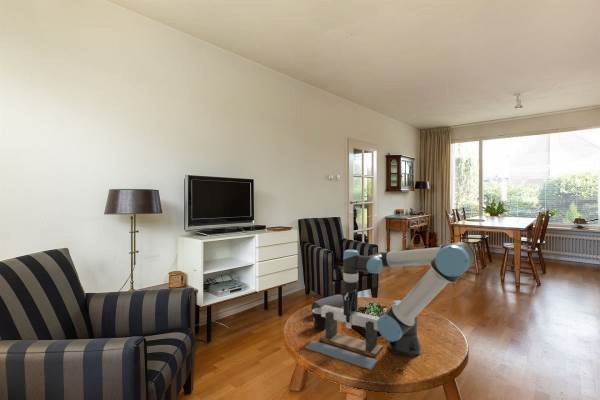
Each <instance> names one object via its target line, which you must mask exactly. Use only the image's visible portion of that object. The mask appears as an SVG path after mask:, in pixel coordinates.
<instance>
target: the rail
mask: <svg viewBox="0 0 600 400" xmlns="http://www.w3.org/2000/svg"><path fill="white" fill-rule="evenodd" d="M326 313H330V314H332V319H334V320H337V322H342V323H345V324H346V315H344V308H337V307H332V306H328V305H324V306H322V307H321V316H322V317H326ZM380 317H381V316H377V315H376V316H375V315H373V314H372V315H371V314H367V313H362V312H358V311H357V312H354V311H351V324H353V325H352V326H354V325H355V326H357V327H362V328H365V329H366V322H367V323H371V324H372V329H373V330H377V332H379V330H378V326H377V322H378V319H379V318H380Z"/></svg>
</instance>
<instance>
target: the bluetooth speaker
mask: <svg viewBox="0 0 600 400" xmlns="http://www.w3.org/2000/svg"><path fill="white" fill-rule="evenodd" d="M343 296H344V295H342V294H334V295H330V296H327V297H324V298H320V299H318V300H315V301H313V302H312V303H311V309H310V310H311V311H312V310H313V309H316V308H321V307H322V306H324V305H328V306H332V307H337V308H341V309H343V308H344V303H343Z"/></svg>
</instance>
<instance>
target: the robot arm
mask: <svg viewBox="0 0 600 400" xmlns="http://www.w3.org/2000/svg"><path fill="white" fill-rule="evenodd" d="M342 258H343V259H342V261H343V272H342V275H343V276H342V277H343V278H342V279H343V283H342V284H343V289H344V290H345V295H342V296H343V303H344V306H343V309H344V315H346V323H345V328H346V329H350V330H351V329H352V326H356V325H353V324H351V311H354V312H358V300H359V299H358V295H359V271H360V272H363V273H369V274H380V273H381V272H382V269H383V268H392V267H395V268H396V267H397V268H398V267H412V266H413V267H414V266H428V265H429V266H430V268H429V270H428V271H426V273H425V274H424V275H423V276H422V277H421V279H419V280H418V281H417V283H416V284H414V286H413V287H412V289H410V291H409V292H408V293H406V295H405V297H404V298H402V299H401V300H400V299H398V300H397V299H396V300H393V301H392V304H391V306H390V307H389V308H388V309H387V311H386V312H385V313H384V314H383V315H380V316H379V317H380V318H379V319H378V322H377V326H378V330H379V331H378V333H379V334H380V336H382V338H383V339H385V340H386V341H388V349H389V350H390V351H391V352H392V353H395V354H397V355H399V356H405V357H416V356H418V355H420V354H421V353H422V347H421V342H420V339H419V337H418V336H419V335H418V315H419V314H420V313H421V312H422V311H423V310H424V309H425V308H426V306H428V305H429V303H431V301H433V299H434V298H435V297H436V296H438V294H439V293H440V292H441V291H442V290H443V289H444V288H445V287H446V286H447V285H448V284H449V283H450V284H451V283H453V284H454V283H456V282H457V280H459V278H460V277H461V276H463V275H464V273H466V272H467V270H468V269H470V267H472V266H473V264H475V261H476V252H475V249H473V247H472V246H471V245H469V243H466V242H463V241H455V242H452V243H445V244H440V246H439V247H438V246H437V247H428V248H427V247H426V248H416V249H408V250H407V249H405V250H395V251H387V252H386V251H379V252H377V253H374V254H370V255H368V256H367V255H360V253H359V250H357V249H346V250H344V251H343V257H342Z"/></svg>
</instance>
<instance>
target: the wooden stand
mask: <svg viewBox="0 0 600 400" xmlns="http://www.w3.org/2000/svg"><path fill="white" fill-rule="evenodd" d="M319 341H320V342H322V343H323V342H324V343H328V344H330V345H333V346H337V347H340V348H344V349H346V350H348V351H349V350H350V351H354V352H356V353H360V354H363V355H367V356H370V357H373V358H377V356H378V355H379V354H380V353H381V351H382V350H383V349H384V348H383V347H384V345H382V344H378V343H377V342H378V331H377V330H373V329H372V324H371V323H367V322H366V328H365V340H364V339H362V338H361V339H360V338H356V337H354V336H353V337H352V336H351V335H350V336H349V335H345V334H343V333H339V332H338V321H337V320H334V319H332V314H330V313H326V329H325V333H324V334H323V335H322V336H320V337H319Z"/></svg>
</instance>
